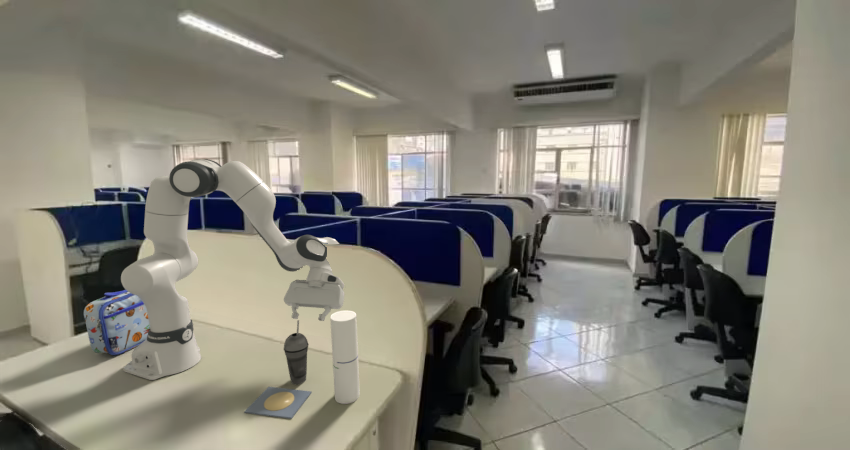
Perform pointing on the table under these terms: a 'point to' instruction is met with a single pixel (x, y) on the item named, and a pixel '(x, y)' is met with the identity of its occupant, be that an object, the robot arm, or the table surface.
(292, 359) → the beverage cup
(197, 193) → the robot arm
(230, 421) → the table surface
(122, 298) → the lunch box
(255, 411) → the card
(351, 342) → the cylindrical container
